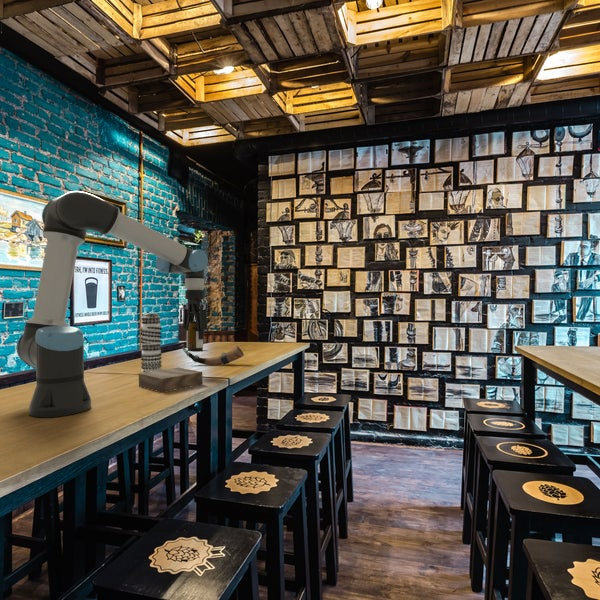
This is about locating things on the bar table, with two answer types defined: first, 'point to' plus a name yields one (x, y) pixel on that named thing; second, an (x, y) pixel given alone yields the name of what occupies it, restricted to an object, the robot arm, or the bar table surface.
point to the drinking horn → (222, 359)
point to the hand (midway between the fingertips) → (194, 347)
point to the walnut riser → (170, 379)
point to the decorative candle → (151, 342)
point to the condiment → (193, 338)
